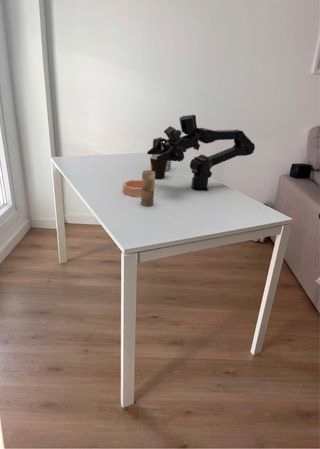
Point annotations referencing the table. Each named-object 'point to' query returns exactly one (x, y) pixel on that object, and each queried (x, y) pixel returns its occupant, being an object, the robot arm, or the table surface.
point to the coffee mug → (158, 167)
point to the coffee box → (160, 154)
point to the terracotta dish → (132, 188)
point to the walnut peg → (147, 188)
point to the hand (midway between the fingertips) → (152, 155)
